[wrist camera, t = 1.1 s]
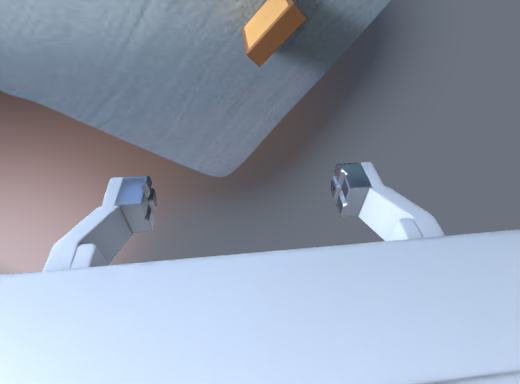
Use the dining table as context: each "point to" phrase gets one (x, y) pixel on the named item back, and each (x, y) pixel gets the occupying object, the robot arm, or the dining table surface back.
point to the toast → (271, 28)
